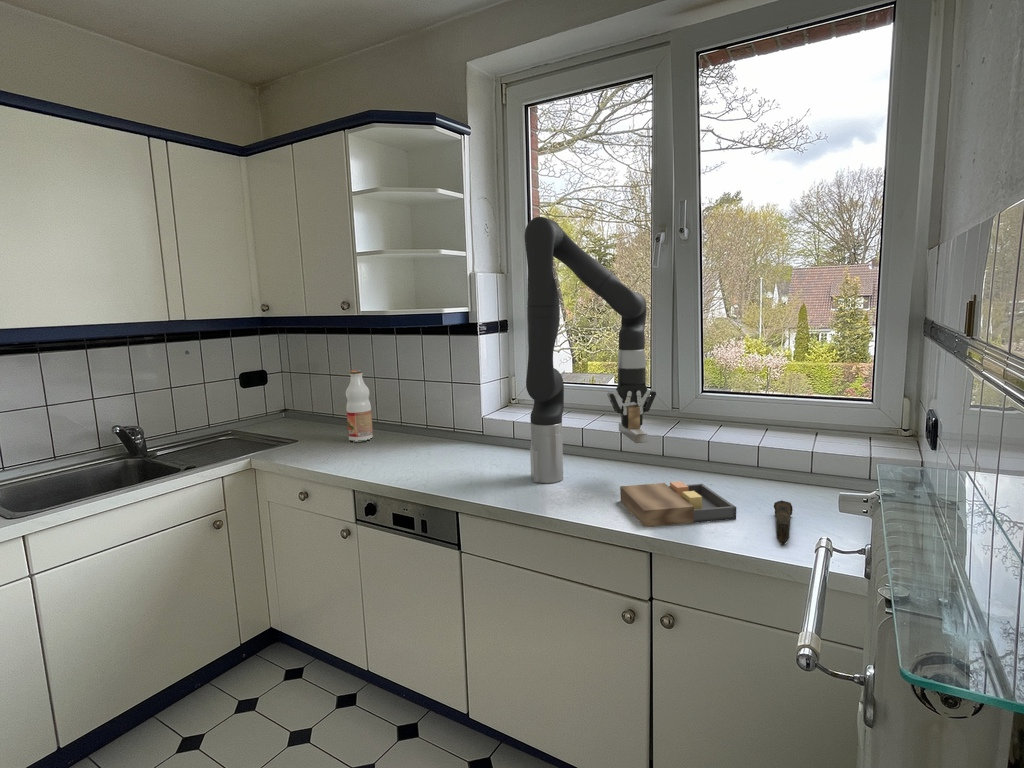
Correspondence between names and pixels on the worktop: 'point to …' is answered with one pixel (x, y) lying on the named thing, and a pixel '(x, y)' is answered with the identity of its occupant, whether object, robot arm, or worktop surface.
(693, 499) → the yellow block
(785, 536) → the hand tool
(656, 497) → the walnut slab
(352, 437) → the fruit juice
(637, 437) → the oak scraper
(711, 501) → the box
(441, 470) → the worktop surface
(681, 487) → the salmon orange block
